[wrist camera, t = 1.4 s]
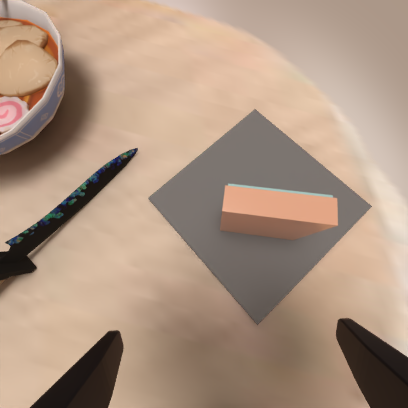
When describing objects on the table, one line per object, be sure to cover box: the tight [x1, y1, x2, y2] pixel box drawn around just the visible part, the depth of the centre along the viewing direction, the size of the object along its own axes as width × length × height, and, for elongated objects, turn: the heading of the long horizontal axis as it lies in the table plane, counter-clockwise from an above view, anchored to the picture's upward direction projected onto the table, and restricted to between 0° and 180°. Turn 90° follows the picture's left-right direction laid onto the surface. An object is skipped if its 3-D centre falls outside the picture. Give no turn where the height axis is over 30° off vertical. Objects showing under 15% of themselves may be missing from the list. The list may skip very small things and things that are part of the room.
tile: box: [220, 184, 338, 240], centre depth 20 cm, size 2×8×9 cm, turn 82°
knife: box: [0, 148, 138, 284], centre depth 24 cm, size 31×3×4 cm, turn 135°
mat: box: [148, 110, 372, 325], centre depth 25 cm, size 18×18×1 cm
